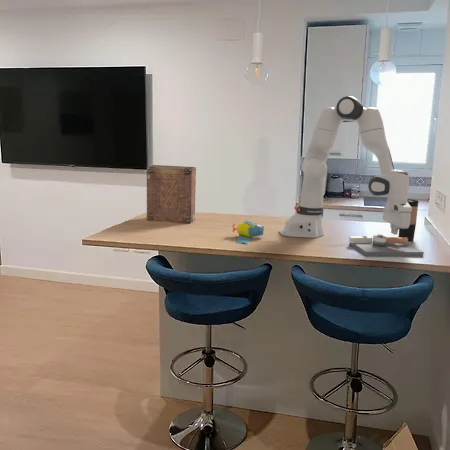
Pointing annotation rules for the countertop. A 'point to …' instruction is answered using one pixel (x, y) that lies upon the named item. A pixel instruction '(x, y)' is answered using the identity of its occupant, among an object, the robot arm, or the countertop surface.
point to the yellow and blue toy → (247, 231)
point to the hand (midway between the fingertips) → (394, 233)
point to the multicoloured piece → (388, 240)
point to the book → (171, 193)
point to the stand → (383, 248)
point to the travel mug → (411, 229)
